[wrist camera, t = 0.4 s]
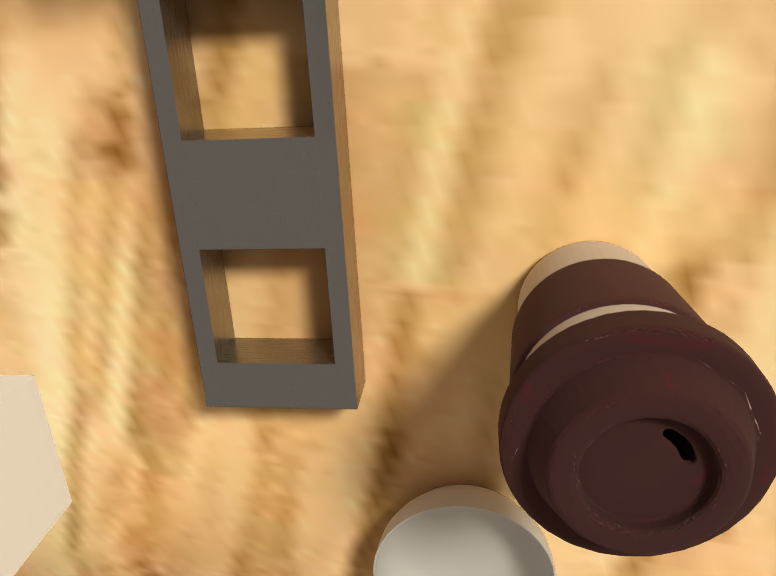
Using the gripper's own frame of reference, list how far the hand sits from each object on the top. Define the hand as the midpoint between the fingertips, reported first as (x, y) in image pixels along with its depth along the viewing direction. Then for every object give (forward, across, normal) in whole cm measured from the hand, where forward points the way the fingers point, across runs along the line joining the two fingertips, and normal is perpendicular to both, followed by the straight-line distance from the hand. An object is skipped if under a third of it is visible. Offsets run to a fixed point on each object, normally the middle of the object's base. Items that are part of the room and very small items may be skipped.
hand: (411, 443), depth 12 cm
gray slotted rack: (+26, -10, -2) cm, 27 cm away
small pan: (+26, -1, -29) cm, 39 cm away
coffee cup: (+26, +7, -9) cm, 28 cm away
